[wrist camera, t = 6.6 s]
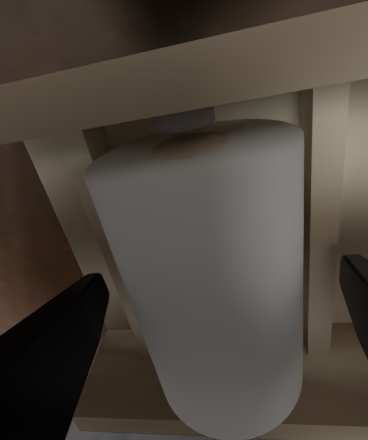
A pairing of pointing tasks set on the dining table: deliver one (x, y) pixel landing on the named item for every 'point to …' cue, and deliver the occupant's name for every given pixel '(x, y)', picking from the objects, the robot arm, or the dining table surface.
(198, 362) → the paper roll
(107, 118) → the roll cradle
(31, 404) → the robot arm
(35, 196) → the dining table surface
